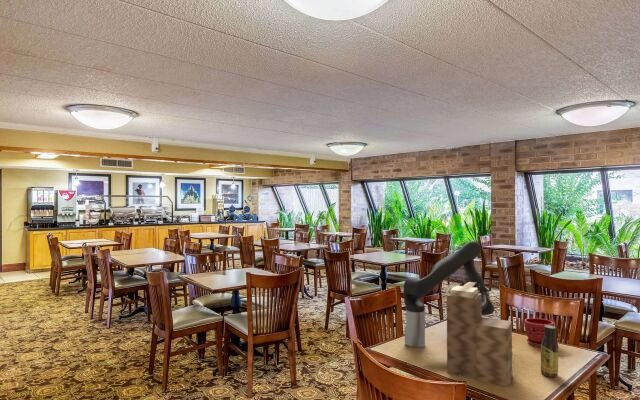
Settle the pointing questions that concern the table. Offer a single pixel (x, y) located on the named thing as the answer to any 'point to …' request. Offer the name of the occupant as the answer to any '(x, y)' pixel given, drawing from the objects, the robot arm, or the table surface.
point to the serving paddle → (464, 290)
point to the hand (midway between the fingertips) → (469, 284)
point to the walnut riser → (477, 342)
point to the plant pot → (536, 330)
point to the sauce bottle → (549, 353)
